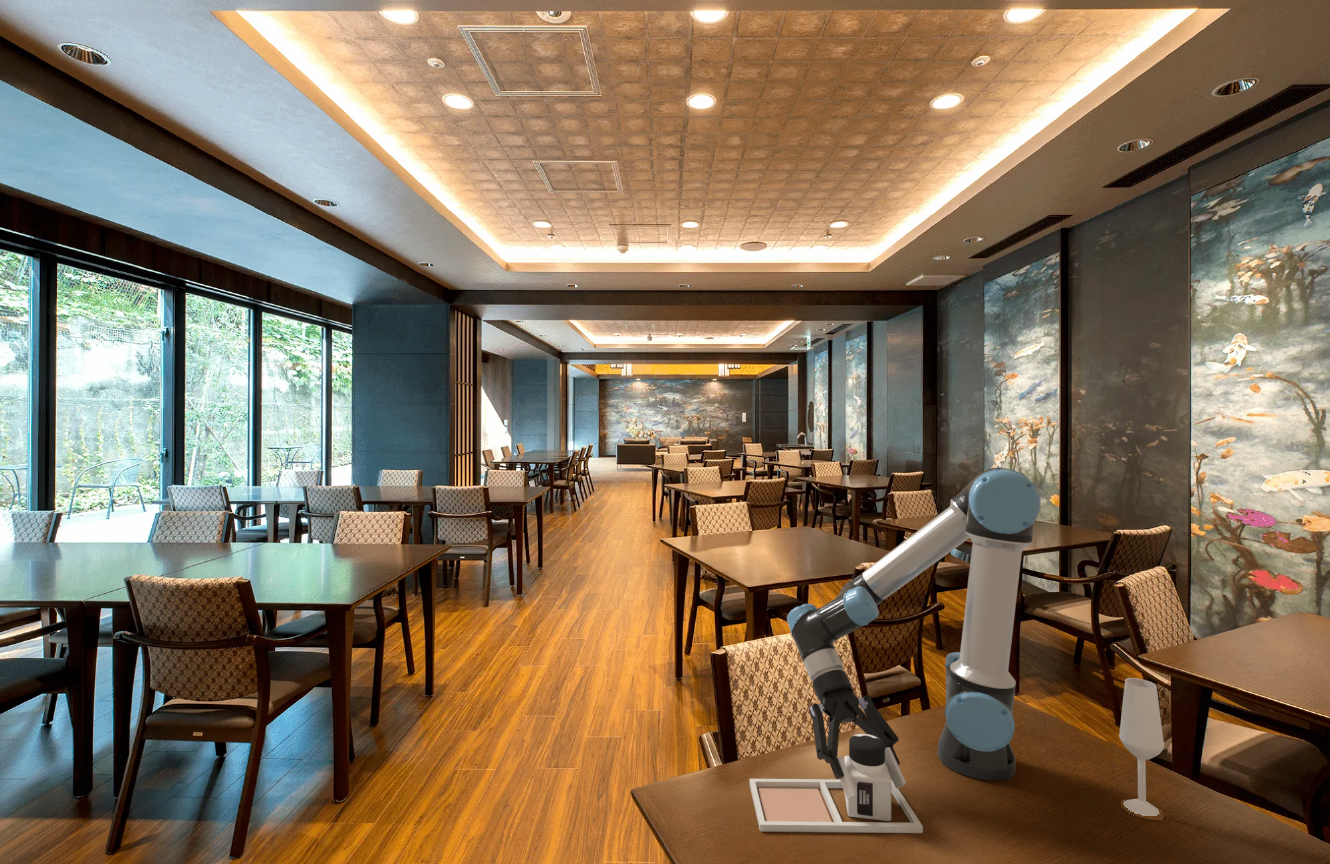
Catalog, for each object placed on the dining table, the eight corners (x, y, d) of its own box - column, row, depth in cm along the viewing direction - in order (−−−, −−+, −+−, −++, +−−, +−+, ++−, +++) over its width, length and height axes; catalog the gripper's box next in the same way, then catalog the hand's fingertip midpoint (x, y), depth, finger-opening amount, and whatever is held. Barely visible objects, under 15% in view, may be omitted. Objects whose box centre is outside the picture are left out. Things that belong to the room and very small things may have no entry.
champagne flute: (1167, 825, 111) (1165, 692, 111) (1121, 813, 115) (1120, 684, 115) (1162, 806, 117) (1160, 680, 117) (1118, 795, 120) (1117, 673, 121)
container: (891, 822, 112) (891, 750, 112) (847, 816, 113) (847, 746, 114) (885, 798, 119) (885, 731, 120) (844, 793, 121) (844, 727, 121)
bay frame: (892, 785, 124) (892, 779, 124) (922, 832, 109) (922, 826, 109) (749, 784, 124) (749, 778, 124) (760, 831, 109) (760, 824, 109)
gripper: (865, 677, 135) (916, 786, 120) (773, 691, 127) (816, 809, 112) (881, 661, 130) (936, 773, 115) (787, 674, 122) (833, 795, 107)
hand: (877, 791), depth 114 cm, fingers closed on container, 10 cm apart
